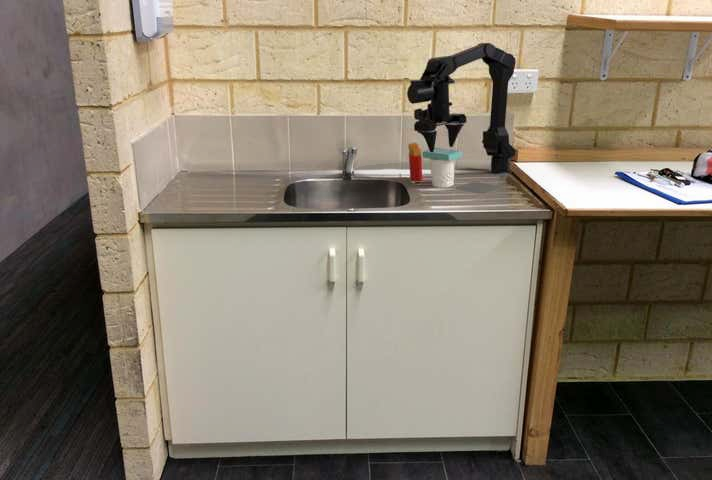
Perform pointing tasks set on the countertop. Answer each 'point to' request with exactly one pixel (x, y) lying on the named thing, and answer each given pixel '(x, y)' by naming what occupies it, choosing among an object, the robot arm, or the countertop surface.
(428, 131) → the robot arm
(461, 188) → the mat
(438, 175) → the white cup
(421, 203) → the countertop surface
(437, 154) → the lid
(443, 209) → the countertop surface
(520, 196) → the countertop surface
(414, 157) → the french fries
